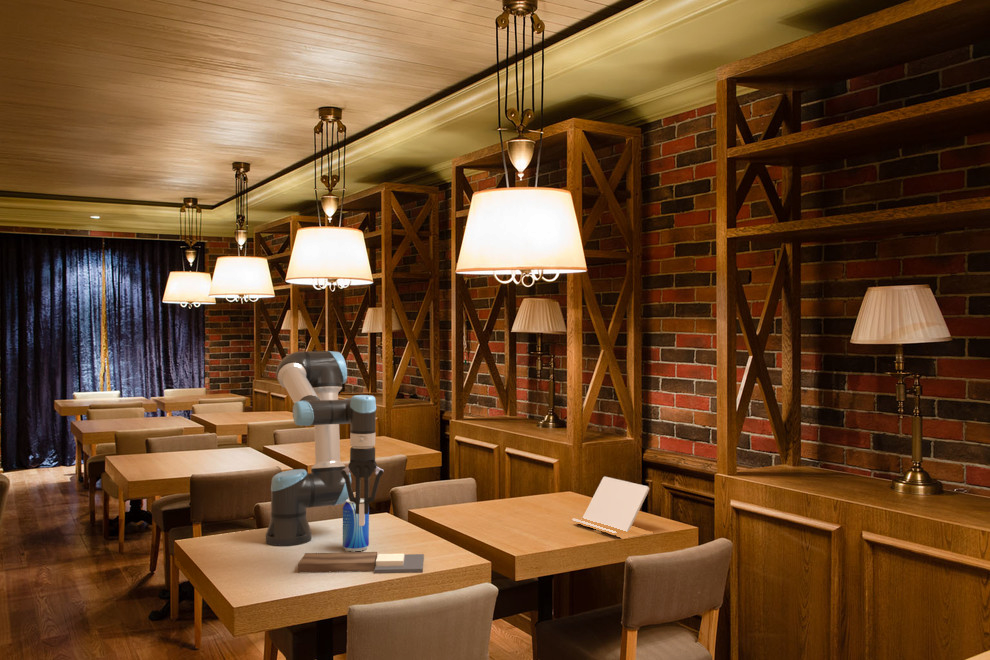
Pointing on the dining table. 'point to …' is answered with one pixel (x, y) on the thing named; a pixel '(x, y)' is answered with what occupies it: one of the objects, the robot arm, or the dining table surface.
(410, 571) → the mat
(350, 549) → the beer can
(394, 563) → the cream flat block
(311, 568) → the serving board
